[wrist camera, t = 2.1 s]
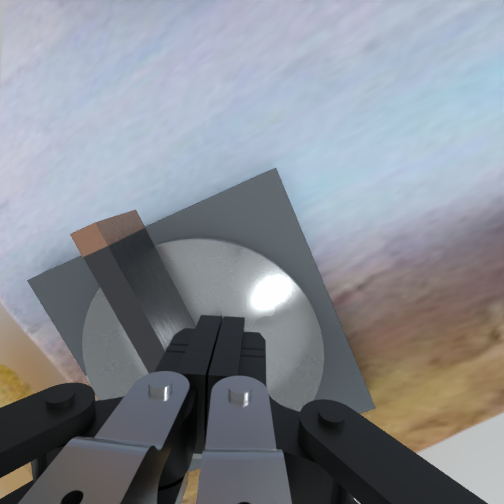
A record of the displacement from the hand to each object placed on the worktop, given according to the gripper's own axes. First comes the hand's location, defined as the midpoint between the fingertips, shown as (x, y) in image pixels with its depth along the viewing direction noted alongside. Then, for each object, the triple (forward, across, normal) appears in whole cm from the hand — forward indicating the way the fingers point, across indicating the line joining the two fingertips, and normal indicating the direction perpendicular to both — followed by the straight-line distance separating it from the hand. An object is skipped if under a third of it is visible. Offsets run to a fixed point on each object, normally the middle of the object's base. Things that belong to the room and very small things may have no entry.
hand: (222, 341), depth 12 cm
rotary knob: (+15, +3, +8) cm, 17 cm away
